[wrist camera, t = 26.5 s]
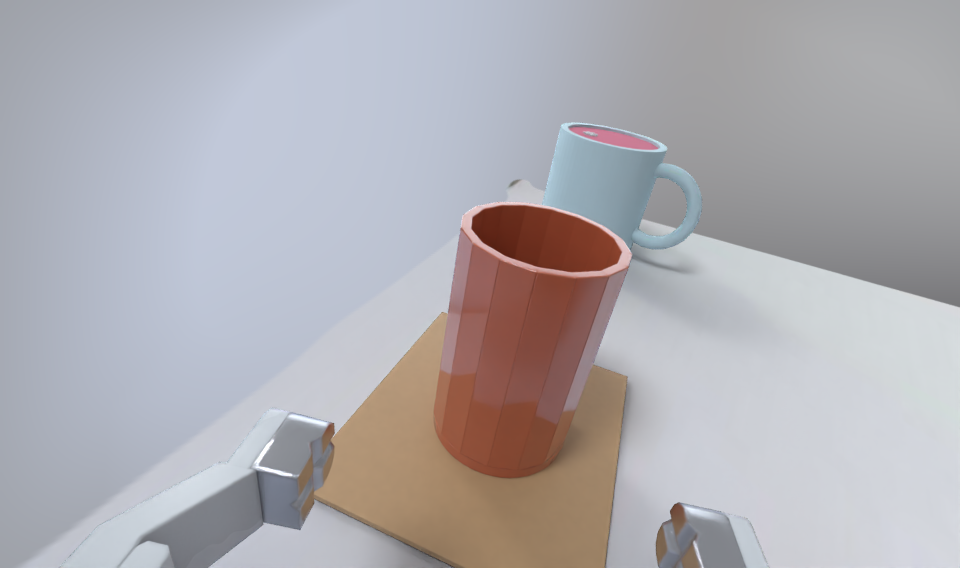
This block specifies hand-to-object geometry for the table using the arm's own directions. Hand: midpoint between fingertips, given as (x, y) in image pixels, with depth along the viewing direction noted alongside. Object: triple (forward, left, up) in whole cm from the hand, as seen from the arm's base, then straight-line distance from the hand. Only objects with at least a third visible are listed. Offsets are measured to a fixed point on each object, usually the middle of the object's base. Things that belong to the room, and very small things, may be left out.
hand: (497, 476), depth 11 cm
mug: (-14, +31, -8) cm, 35 cm away
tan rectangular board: (-5, +7, -8) cm, 12 cm away
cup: (-5, +7, -7) cm, 11 cm away
